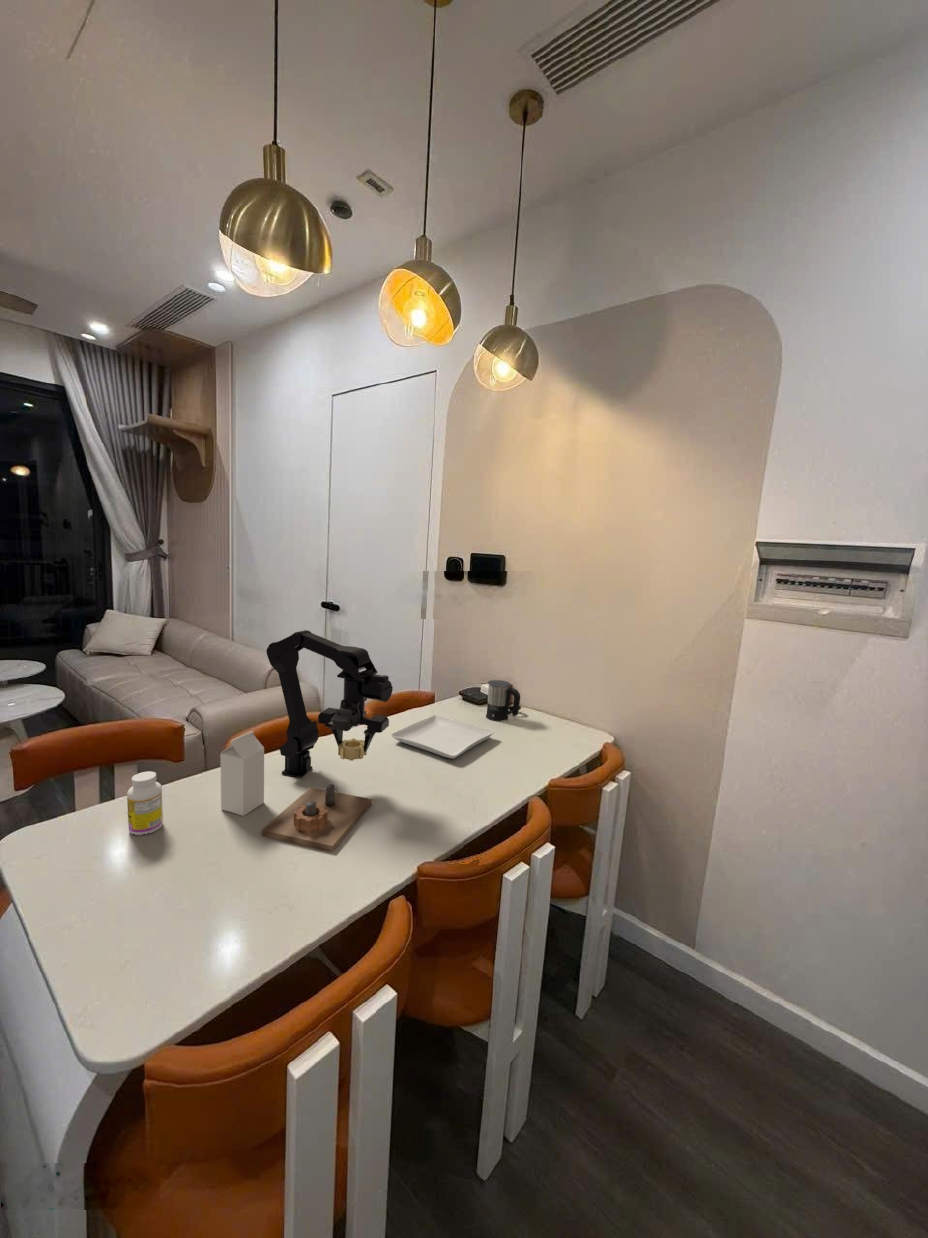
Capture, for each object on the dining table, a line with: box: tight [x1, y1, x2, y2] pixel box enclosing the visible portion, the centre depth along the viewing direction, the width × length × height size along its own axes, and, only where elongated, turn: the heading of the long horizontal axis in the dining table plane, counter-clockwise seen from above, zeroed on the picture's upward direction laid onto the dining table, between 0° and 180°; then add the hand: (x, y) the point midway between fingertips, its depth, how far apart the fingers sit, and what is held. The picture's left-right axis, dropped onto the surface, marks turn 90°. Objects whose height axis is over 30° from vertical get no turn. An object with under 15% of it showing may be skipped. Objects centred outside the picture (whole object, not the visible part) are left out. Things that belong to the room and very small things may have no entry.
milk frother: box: [485, 679, 522, 722], centre depth 200 cm, size 14×16×15 cm
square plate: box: [390, 714, 495, 759], centre depth 170 cm, size 27×27×4 cm
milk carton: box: [220, 730, 265, 817], centre depth 120 cm, size 7×7×19 cm
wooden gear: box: [337, 738, 368, 762], centre depth 133 cm, size 7×7×3 cm
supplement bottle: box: [126, 770, 164, 836], centre depth 109 cm, size 7×7×13 cm
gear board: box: [261, 783, 373, 853], centre depth 118 cm, size 18×21×6 cm
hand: (352, 749), depth 133 cm, fingers closed on wooden gear, 7 cm apart
